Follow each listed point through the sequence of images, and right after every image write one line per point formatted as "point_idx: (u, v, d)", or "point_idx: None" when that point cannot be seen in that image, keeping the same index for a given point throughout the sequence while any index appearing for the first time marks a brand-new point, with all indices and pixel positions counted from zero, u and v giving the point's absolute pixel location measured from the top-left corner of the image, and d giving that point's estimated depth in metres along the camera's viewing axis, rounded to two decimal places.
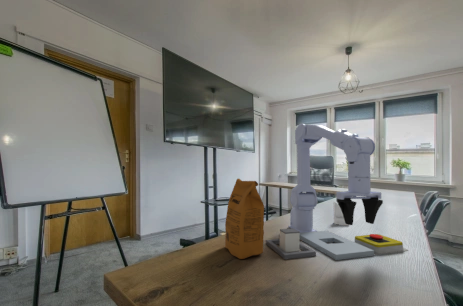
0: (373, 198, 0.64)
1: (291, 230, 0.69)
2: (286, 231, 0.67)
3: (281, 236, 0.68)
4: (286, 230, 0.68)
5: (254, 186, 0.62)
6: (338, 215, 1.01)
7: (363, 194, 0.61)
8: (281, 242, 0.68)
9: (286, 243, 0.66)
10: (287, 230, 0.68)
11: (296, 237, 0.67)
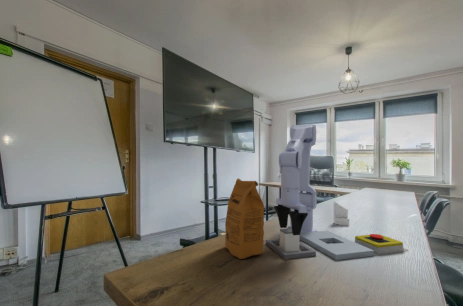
0: (295, 210, 0.64)
1: (291, 230, 0.68)
2: (286, 231, 0.67)
3: (281, 236, 0.68)
4: (286, 230, 0.68)
5: (254, 186, 0.62)
6: (338, 215, 1.01)
7: (280, 202, 0.70)
8: (281, 242, 0.68)
9: (286, 243, 0.66)
10: (287, 230, 0.68)
11: (296, 237, 0.67)
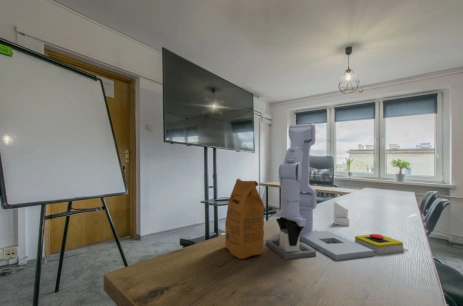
0: (295, 223, 0.64)
1: None
2: (286, 231, 0.67)
3: (281, 236, 0.68)
4: (286, 230, 0.68)
5: (254, 186, 0.62)
6: (338, 215, 1.01)
7: (279, 214, 0.69)
8: (281, 242, 0.68)
9: (286, 243, 0.66)
10: None
11: None
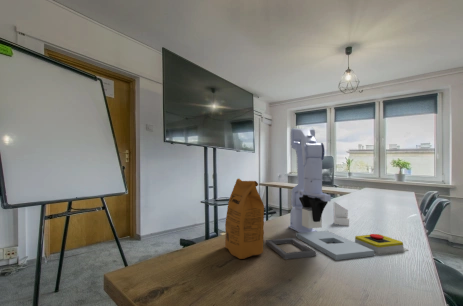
0: (319, 199, 0.67)
1: None
2: (309, 208, 0.70)
3: (304, 213, 0.71)
4: (308, 208, 0.71)
5: (254, 186, 0.62)
6: (338, 215, 1.01)
7: (303, 192, 0.72)
8: (304, 219, 0.71)
9: (309, 220, 0.69)
10: (309, 208, 0.71)
11: None
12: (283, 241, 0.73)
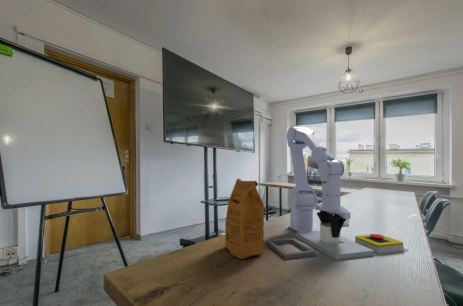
0: (339, 216, 0.69)
1: None
2: (327, 225, 0.72)
3: (322, 229, 0.73)
4: (326, 224, 0.73)
5: (254, 186, 0.62)
6: None
7: (321, 208, 0.74)
8: (322, 235, 0.73)
9: (328, 236, 0.70)
10: (327, 224, 0.73)
11: None
12: (283, 241, 0.73)
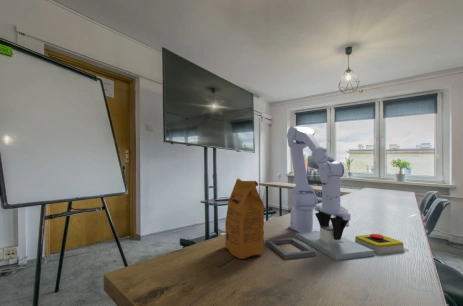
0: (339, 217, 0.69)
1: (331, 227, 0.73)
2: (327, 228, 0.72)
3: (322, 233, 0.73)
4: (327, 227, 0.73)
5: (254, 186, 0.62)
6: None
7: None
8: (322, 239, 0.72)
9: (328, 240, 0.70)
10: (327, 227, 0.73)
11: None
12: (283, 241, 0.73)
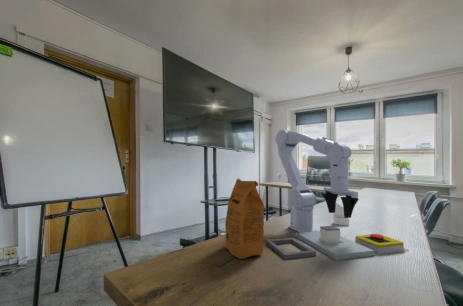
0: (347, 196, 0.73)
1: (331, 227, 0.73)
2: (327, 228, 0.72)
3: (322, 233, 0.73)
4: (327, 227, 0.73)
5: (254, 186, 0.62)
6: (338, 215, 1.01)
7: None
8: (322, 238, 0.72)
9: (328, 240, 0.70)
10: (328, 227, 0.73)
11: (337, 233, 0.71)
12: (283, 241, 0.73)
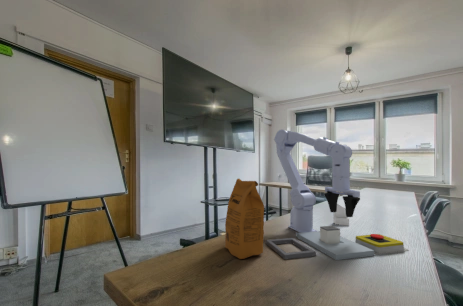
0: (349, 195, 0.74)
1: (331, 227, 0.73)
2: (327, 228, 0.72)
3: (322, 233, 0.73)
4: (327, 227, 0.73)
5: (254, 186, 0.62)
6: (338, 215, 1.01)
7: (332, 189, 0.79)
8: (322, 238, 0.73)
9: (328, 240, 0.70)
10: (327, 227, 0.73)
11: (337, 233, 0.71)
12: (283, 241, 0.73)
